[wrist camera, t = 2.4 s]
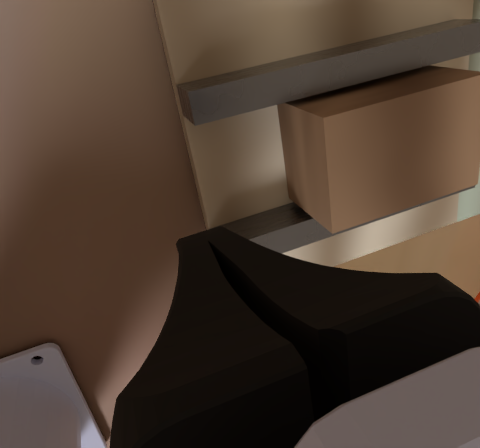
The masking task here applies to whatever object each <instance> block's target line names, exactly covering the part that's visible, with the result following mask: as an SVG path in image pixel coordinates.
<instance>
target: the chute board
mask: <svg viewBox="0 0 480 448" xmlns="http://www.w3.org/2000/svg"><path fill="white" fill-rule="evenodd" d="M153 4H154V8H155V13H156V17H157V21H158V26H159V30H160V34H161V38H162V43H163V47H164V51H165V55H166V60H167V64H168V68H169V73H170V77H171V81H172V85H173V90H174V94H175V98H176V102H177V107H178V111H179V115H180V119H181V124H182V128H183V132H184V137H185V141H186V145H187V149H188V154H189V158H190V162H191V166H192V171H193V175H194V179H195V183H196V188H197V192H198V196H199V201H200V205H201V209H202V213H203V218H204V222H205V226H206V230H209V229H210V228H213V227H216V226H219V225H222V224H226V223H229V222H232V221H235V220H238V219H241V218H245V217H248V216H251V215H254V214H257V213H260V212H264V211H267V210H270V209H273V208H276V207H279V206H283V205H286V204H289V203H292V202H293V201H292V200H291V199H289V195H288V187H287V180H286V172H285V164H284V156H283V148H282V140H281V132H280V124H279V117H278V109H277V105H274V106H270V107H266V108H262V109H259V110H255V111H251V112H247V113H243V114H239V115H235V116H232V117H228V118H224V119H220V120H216V121H212V122H208V123H205V124H201V125H197V126H195V125H193V124H192V123H191V122H190V121H189V120H188V119H186V118H185V117H184V116H183V114H182V109H181V105H180V101H179V96H178V92H177V88H176V85H177V84H181V83H185V82H190V81H194V80H198V79H202V78H207V77H211V76H215V75H219V74H224V73H228V72H232V71H236V70H241V69H245V68H249V67H253V66H258V65H262V64H266V63H270V62H275V61H279V60H283V59H287V58H292V57H296V56H300V55H304V54H309V53H313V52H317V51H321V50H326V49H330V48H334V47H339V46H343V45H347V44H351V43H356V42H360V41H364V40H368V39H373V38H377V37H381V36H385V35H390V34H394V33H398V32H402V31H407V30H411V29H415V28H419V27H424V26H428V25H432V24H436V23H441V22H445V21H449V20H453V19H480V0H153ZM431 66H439V67H447V68H455V69H463V70H471V71H479V72H480V52H478V53H475V54H471V55H467V56H463V57H459V58H455V59H451V60H448V61H444V62H440V63H436V64H432V65H431ZM478 214H480V168H479V179H478V184H477V185H475V188H472V189H469V190H466V191H463V192H460V193H457V194H454V195H451V196H449V197H446V198H443V199H440V200H437V201H434V202H431V203H428V204H425V205H422V206H419V207H416V208H413V209H410V210H408V211H405V212H402V213H399V214H396V215H393V216H390V217H387V218H384V219H381V220H378V221H375V222H372V223H370V224H367V225H364V226H361V227H358V228H355V229H352V230H349V231H346V232H343V233H340V234H337V235H334V236H332V237H329V238H326V239H323V240H320V241H317V242H314V243H311V244H308V245H305V246H302V247H299V248H296V249H294V250H291V251H288V252H285V253H282V254H285V255H287V256H290V257H293V258H297V259H300V260H304V261H308V262H312V263H316V264H320V265H325V266H330V267H333V266H336V265H339V264H341V263H344V262H347V261H350V260H353V259H355V258H358V257H361V256H364V255H367V254H369V253H372V252H375V251H378V250H380V249H383V248H386V247H389V246H392V245H394V244H397V243H400V242H403V241H405V240H408V239H411V238H414V237H417V236H419V235H422V234H425V233H428V232H430V231H433V230H436V229H439V228H442V227H444V226H447V225H450V224H453V223H456V222H458V221H461V220H464V219H467V218H469V217H472V216H475V215H478Z"/></svg>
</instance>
